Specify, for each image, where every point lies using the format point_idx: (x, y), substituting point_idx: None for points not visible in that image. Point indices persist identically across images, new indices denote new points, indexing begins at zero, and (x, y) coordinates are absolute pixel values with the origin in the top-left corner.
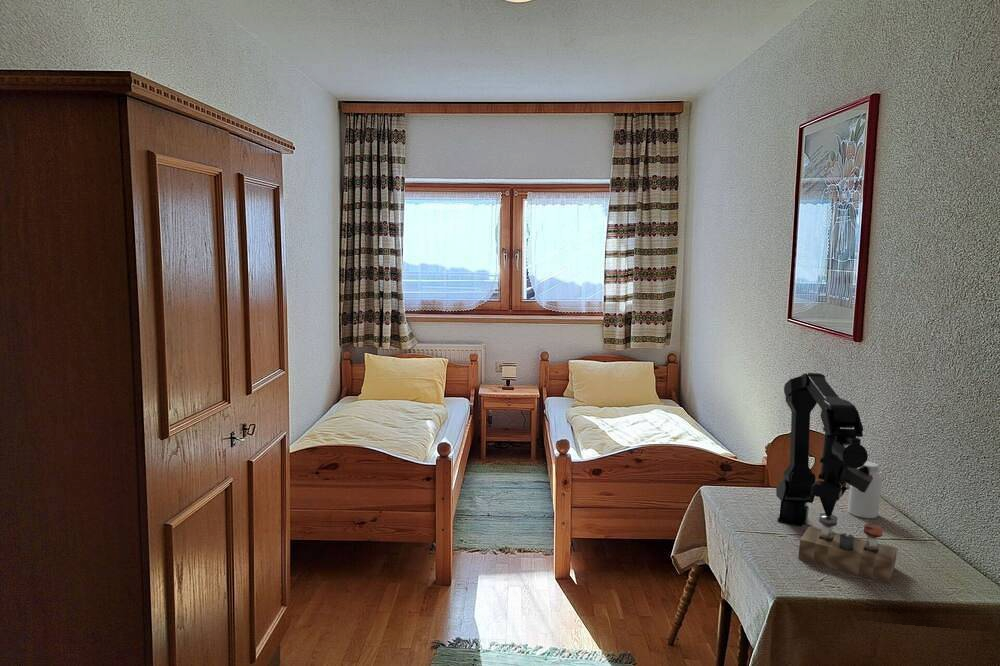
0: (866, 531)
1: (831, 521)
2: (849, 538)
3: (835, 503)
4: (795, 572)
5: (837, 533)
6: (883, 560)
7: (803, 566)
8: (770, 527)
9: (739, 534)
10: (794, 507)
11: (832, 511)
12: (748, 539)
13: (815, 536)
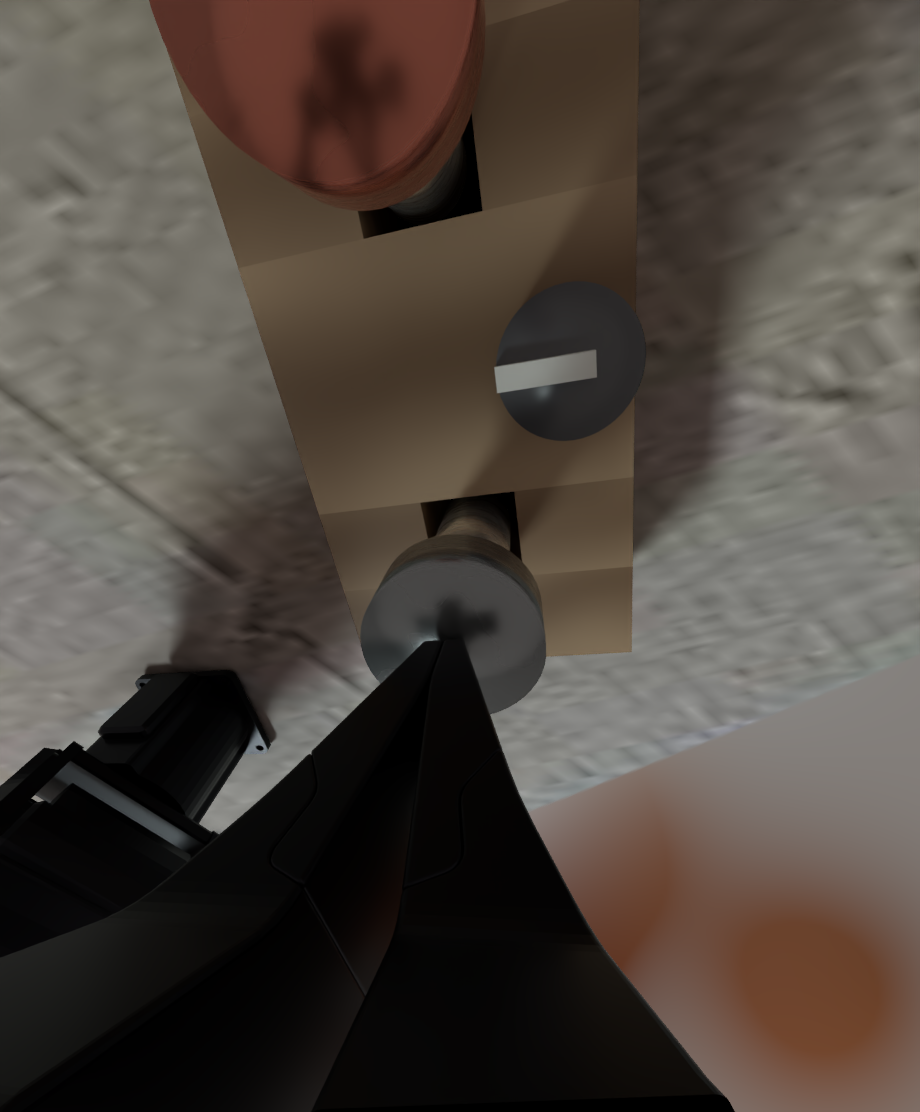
0: (464, 99)
1: (529, 592)
2: (633, 318)
3: (367, 752)
4: (808, 538)
5: (320, 508)
6: None
7: (692, 532)
8: None
9: (525, 801)
10: (189, 771)
11: (444, 671)
12: (548, 771)
13: None
